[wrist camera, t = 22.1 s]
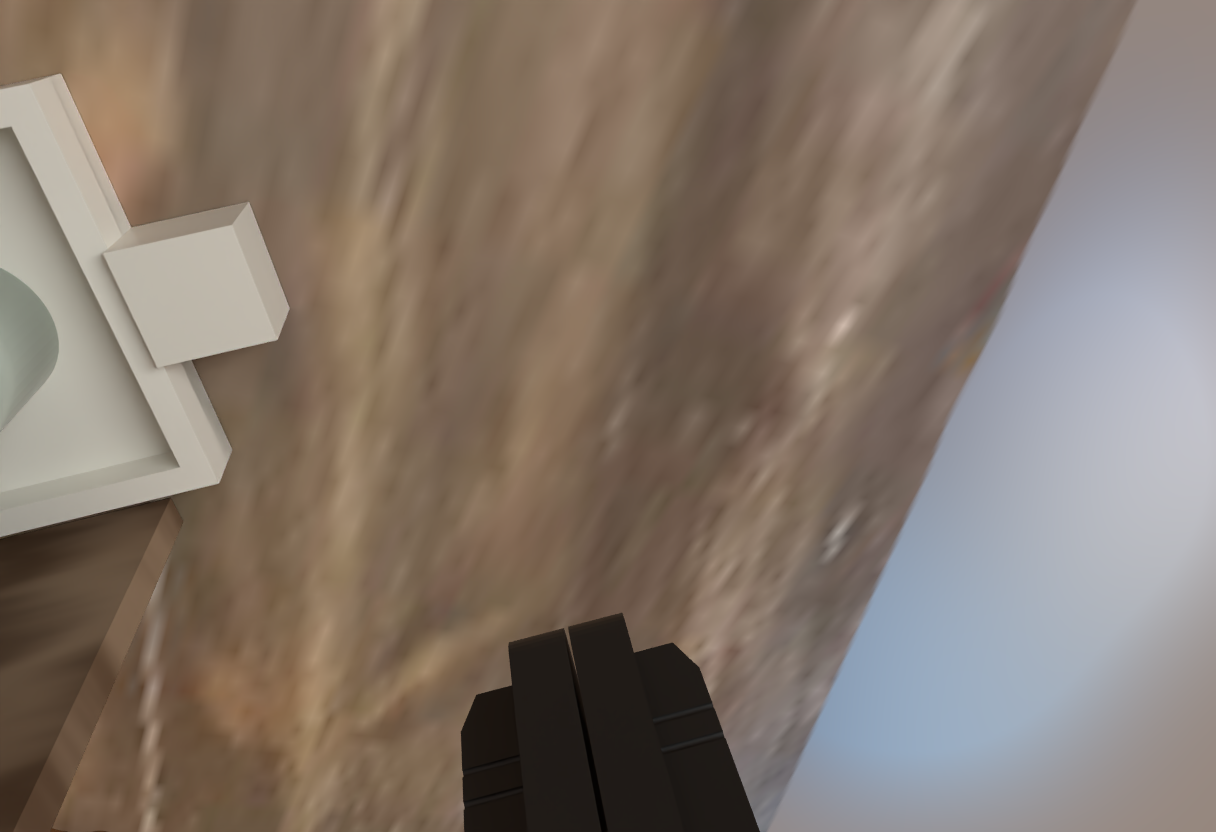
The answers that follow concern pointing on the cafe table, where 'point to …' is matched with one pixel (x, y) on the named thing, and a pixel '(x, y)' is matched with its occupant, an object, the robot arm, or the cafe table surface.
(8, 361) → the pale green rounded cylinder
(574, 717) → the robot arm
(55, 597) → the wood grain block
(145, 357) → the tray
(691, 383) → the cafe table surface
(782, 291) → the cafe table surface
